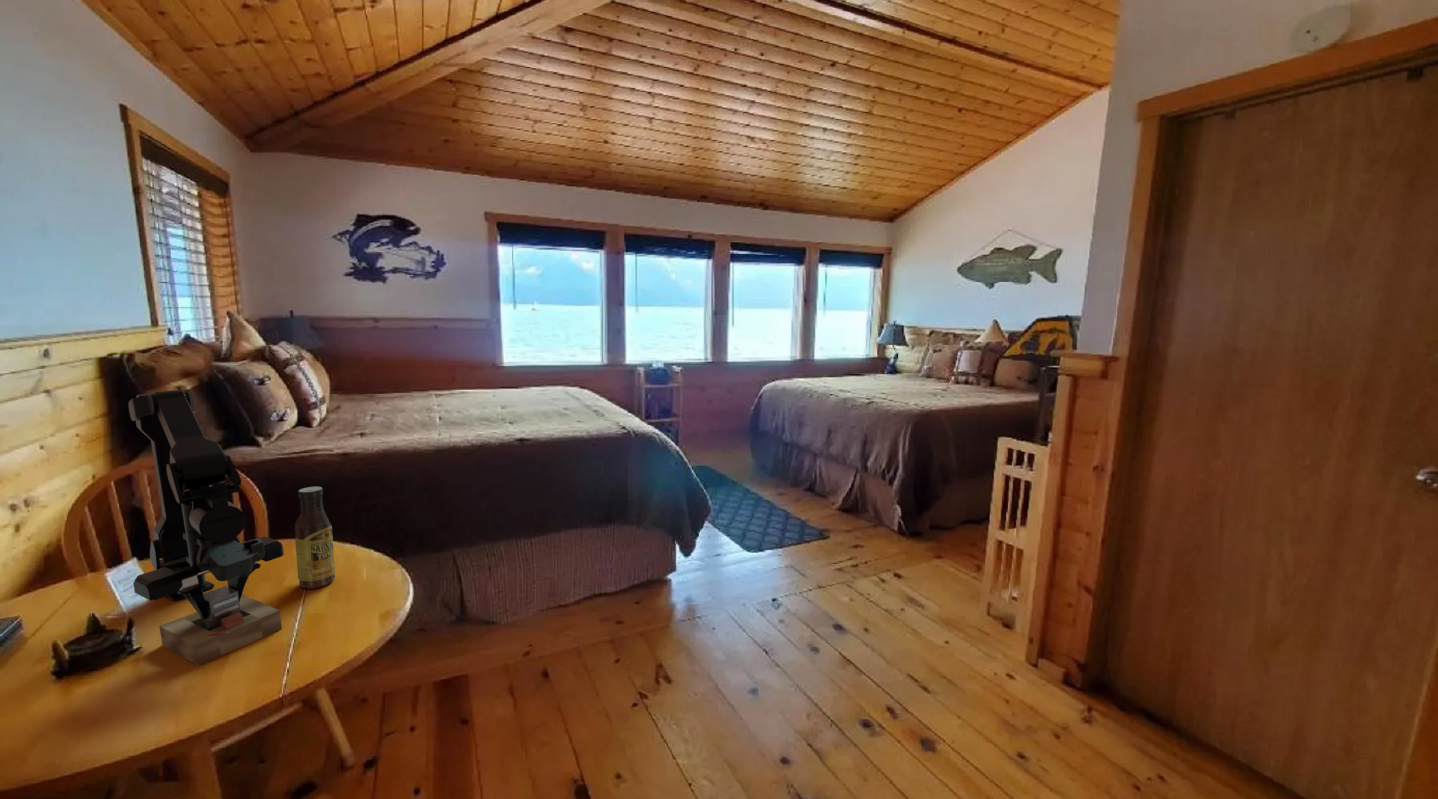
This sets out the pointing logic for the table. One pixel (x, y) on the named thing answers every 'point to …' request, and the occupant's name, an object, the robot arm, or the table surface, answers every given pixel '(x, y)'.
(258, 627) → the stand base
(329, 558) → the sauce bottle
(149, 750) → the table surface
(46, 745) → the table surface
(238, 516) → the robot arm
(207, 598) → the column
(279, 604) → the table surface
